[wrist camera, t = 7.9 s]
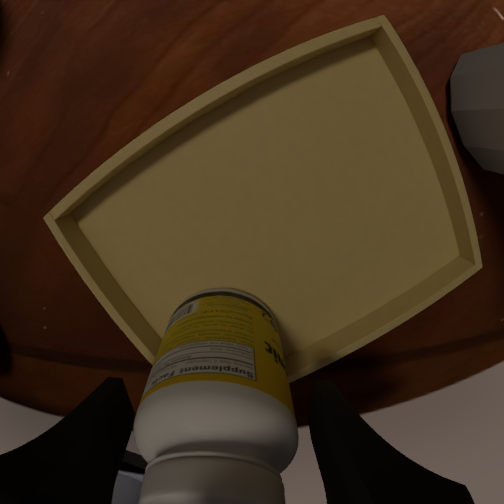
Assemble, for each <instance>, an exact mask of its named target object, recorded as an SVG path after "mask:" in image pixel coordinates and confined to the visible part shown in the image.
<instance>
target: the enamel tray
mask: <svg viewBox="0 0 504 504" xmlns="http://www.w3.org/2000/svg"><path fill="white" fill-rule="evenodd" d="M44 220H45V222H46V223H47V225H48V227H49V228H50V230H51V232H52V233H53V235H54V237H55V238H56V240H57V241H58V243H59V245H60V246H61V248H62V249H63V251H64V252H65V254H66V255H67V257H68V258H69V260H70V261H71V263H72V264H73V266H74V267H75V269H76V270H77V272H78V273H79V275H80V276H81V277H82V279H83V280H84V282H85V283H86V284H87V286H88V287H89V289H90V290H91V291H92V293H93V294H94V295H95V297H96V298H97V299H98V301H99V302H100V303H101V305H102V306H103V307H104V308H105V310H106V311H107V312H108V314H109V315H110V316H111V317H112V319H113V320H114V321H115V322H116V324H117V325H118V326H119V327H120V329H121V330H122V331H123V332H124V333H125V335H126V336H127V337H128V338H129V339H130V340H131V342H132V343H133V344H134V345H135V346H136V347H137V349H138V350H139V351H140V352H141V353H142V354H143V355H144V356H145V358H146V359H147V360H148V361H149V362H150V363H151V364H152V365H153V364H154V361H155V358H156V355H157V353H158V350H159V347H160V344H161V341H162V339H163V336H164V333H165V330H166V328H167V325H168V323H169V320H170V318H171V316H172V314H173V312H174V311H175V309H176V308H177V307H178V305H179V304H180V303H181V302H182V301H183V300H185V299H186V298H187V297H189V296H191V295H192V294H194V293H197V292H199V291H202V290H206V289H211V288H230V289H235V290H239V291H242V292H245V293H247V294H250V295H252V296H253V297H255V298H257V299H258V300H259V301H261V302H262V303H263V304H264V305H265V306H266V307H267V308H268V310H269V311H270V312H271V314H272V316H273V317H274V320H275V322H276V325H277V328H278V332H279V337H280V342H281V347H282V352H283V357H284V361H285V366H286V371H287V375H288V381H289V383H290V382H292V381H295V380H297V379H299V378H301V377H303V376H305V375H308V374H310V373H312V372H314V371H316V370H318V369H320V368H322V367H324V366H326V365H328V364H330V363H332V362H334V361H336V360H338V359H340V358H342V357H344V356H346V355H347V354H349V353H351V352H353V351H355V350H357V349H359V348H360V347H362V346H364V345H366V344H368V343H369V342H371V341H373V340H375V339H376V338H378V337H380V336H382V335H383V334H385V333H387V332H388V331H390V330H392V329H393V328H395V327H397V326H398V325H400V324H402V323H403V322H405V321H406V320H408V319H410V318H411V317H413V316H414V315H416V314H417V313H419V312H421V311H422V310H424V309H425V308H427V307H428V306H430V305H431V304H433V303H434V302H436V301H437V300H438V299H440V298H441V297H443V296H444V295H446V294H447V293H448V292H450V291H451V290H453V289H454V288H455V287H457V286H458V285H460V284H461V283H462V282H464V281H465V280H466V279H468V278H469V277H470V276H472V275H473V274H474V273H476V271H478V270H480V269H481V268H482V261H481V255H480V250H479V244H478V239H477V234H476V229H475V225H474V220H473V216H472V212H471V208H470V204H469V200H468V197H467V193H466V189H465V186H464V183H463V179H462V176H461V173H460V170H459V167H458V164H457V161H456V158H455V155H454V152H453V149H452V146H451V144H450V141H449V138H448V136H447V133H446V131H445V128H444V126H443V123H442V121H441V118H440V116H439V114H438V111H437V109H436V107H435V105H434V102H433V100H432V98H431V96H430V94H429V92H428V90H427V88H426V85H425V83H424V81H423V79H422V78H421V76H420V74H419V72H418V70H417V68H416V66H415V64H414V62H413V61H412V59H411V57H410V55H409V53H408V52H407V50H406V48H405V47H404V45H403V43H402V42H401V40H400V38H399V37H398V35H397V33H396V32H395V30H394V29H393V27H392V26H391V24H390V23H389V21H388V20H387V18H386V17H385V15H382V16H378V17H376V18H372V19H368V20H365V21H362V22H359V23H356V24H353V25H350V26H347V27H344V28H341V29H338V30H335V31H333V32H330V33H327V34H325V35H322V36H319V37H317V38H314V39H312V40H309V41H307V42H305V43H302V44H300V45H297V46H295V47H293V48H290V49H288V50H286V51H284V52H282V53H279V54H277V55H275V56H273V57H271V58H269V59H267V60H264V61H262V62H260V63H258V64H256V65H254V66H252V67H250V68H248V69H246V70H245V71H243V72H241V73H239V74H237V75H235V76H233V77H231V78H230V79H228V80H226V81H224V82H222V83H221V84H219V85H217V86H215V87H214V88H212V89H210V90H208V91H207V92H205V93H203V94H202V95H200V96H198V97H197V98H195V99H193V100H192V101H190V102H189V103H187V104H185V105H184V106H182V107H181V108H179V109H177V110H176V111H174V112H173V113H171V114H170V115H168V116H167V117H165V118H164V119H162V120H161V121H159V122H158V123H157V124H155V125H154V126H152V127H151V128H149V129H148V130H147V131H145V132H144V133H142V134H141V135H140V136H138V137H137V138H135V139H134V140H133V141H131V142H130V143H129V144H127V145H126V146H125V147H123V148H122V149H121V150H120V151H118V152H117V153H116V154H114V155H113V156H112V157H111V158H109V159H108V160H107V161H106V162H104V163H103V164H102V165H101V166H100V167H98V168H97V169H96V170H95V171H94V172H92V173H91V174H90V175H89V176H88V177H87V178H85V179H84V180H83V181H82V182H81V183H80V184H79V185H77V186H76V187H75V188H74V189H73V190H72V191H71V192H70V193H69V194H67V195H66V196H65V197H64V198H63V199H62V200H61V201H60V202H59V203H58V204H57V205H56V206H55V207H54V208H53V209H52V210H51V211H50V212H49V213H48V214H47V215H46V216H44Z"/></svg>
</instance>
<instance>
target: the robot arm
mask: <svg viewBox="0 0 504 504" xmlns="http://www.w3.org/2000/svg"><path fill="white" fill-rule="evenodd" d="M134 414H135V412H134V410H133V407H132V405H131V402H130V399H129V396H128V394H127V391H126V388H125V385H124V382H123V379H122V378H113V377H108V378H107V379H106V380H105V381H104V382H103V383H101V384H100V385H99V386H98V387H97V388H96V389H95V390H94V391H93V392H92V393H91V394H90V395H89V396H88V397H87V398H86V399H85V400H84V401H82V402H81V403H80V404H79V405H78V406H77V407H76V408H75V409H74V410H73V411H71V412H70V413H69V414H68V415H67V416H65V417H64V418H63V419H62V420H61V421H59V422H58V423H57V424H56V425H55V426H53V427H52V428H50V429H49V430H47V431H46V432H44V433H43V434H41V435H40V436H38V437H37V438H35V439H33V440H31V441H29V442H28V443H26V444H24V445H22V446H20V447H18V448H16V449H14V450H12V451H9V452H7V453H4V454H2V455H0V504H138V502H139V497H140V491H141V487H142V482H143V476H144V473H138V472H132V471H127V470H122V469H119V468H120V465H121V462H122V459H123V456H124V453H125V450H126V447H127V444H128V441H129V438H130V435H131V430H132V425H133V420H134ZM308 420H309V428H310V434H311V440H312V444H313V447H314V451H315V454H316V458H317V462H318V465H319V469H320V472H321V476H322V480H323V483H324V488H325V492H326V498H327V504H474V501H473V499H472V497H471V495H470V492H469V491H468V489H467V488H466V486H465V485H463V484H460V483H457V482H455V481H452V480H449V479H447V478H444V477H442V476H440V475H438V474H435V473H433V472H431V471H429V470H427V469H425V468H424V467H422V466H420V465H419V464H417V463H416V462H414V461H412V460H410V459H409V458H407V457H406V456H405V455H403V454H402V453H400V452H399V451H398V450H396V449H395V448H394V447H393V446H391V445H390V444H389V443H388V442H386V441H385V440H384V439H383V438H382V437H381V436H379V435H378V434H377V433H376V432H375V431H374V430H373V429H372V428H371V427H370V426H369V425H368V424H367V423H366V422H365V421H364V420H363V419H362V418H361V416H360V415H359V414H358V413H357V412H356V411H355V410H354V409H353V407H352V406H351V405H350V404H349V403H348V401H347V400H346V399H345V398H344V396H343V395H342V394H341V393H340V391H339V390H338V389H337V387H336V386H335V385H334V383H333V382H332V381H331V380H320V381H314V383H313V389H312V395H311V401H310V407H309V412H308Z"/></svg>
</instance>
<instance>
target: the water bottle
mask: <svg viewBox="0 0 504 504" xmlns="http://www.w3.org/2000/svg"><path fill="white" fill-rule="evenodd" d="M450 108H451V114H452V116H453V119H454V122H455V125H456V127H457V130H458V133H459V136H460V139H461V142H462V144H463V145H464V147H465V148H466V149H467V150H468V151H469V153H470V154H471V155H472V156H473V157H474V159H475V160H476V161H477V162H478V163H479V165H480V166H481V167H482V168H483V169H485V170H488V171H492V172H496V173H499V174H503V175H504V43H501V44H497V45H493V46H490V47H486V48H482V49H479V50H475V51H472V52H468V53H465V54H462V55H461V56H460V59H459V61H458V63H457V65H456V67H455V69H454V71H453V73H452V75H451V77H450Z"/></svg>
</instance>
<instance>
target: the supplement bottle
mask: <svg viewBox="0 0 504 504" xmlns="http://www.w3.org/2000/svg"><path fill="white" fill-rule="evenodd" d="M133 433H134V439H135V443H136V445H137V448H138V450H139V452H140V453H141V455H142V456H143V458H144V459H145V460H146V461H147V463H148V465H147V467H146V470H145V474H144V476H143V482H142V487H141V491H140V497H139V502H138V504H285V495H284V485H283V483H282V478H281V476H280V473H281V472H282V471H284V470H285V469H286V468H287V466H288V465H289V464H290V463H291V461H292V460H293V458H294V456H295V454H296V451H297V447H298V430H297V422H296V417H295V412H294V407H293V402H292V397H291V392H290V386H289V381H288V375H287V371H286V366H285V361H284V357H283V352H282V347H281V342H280V337H279V332H278V328H277V325H276V322H275V320H274V317H273V316H272V314H271V312H270V311H269V310H268V308H267V307H266V306H265V305H264V304H263V303H262V302H261V301H259V300H258V299H257V298H255V297H253V296H252V295H250V294H247V293H245V292H242V291H239V290H235V289H230V288H211V289H206V290H202V291H199V292H197V293H194V294H192V295H191V296H189V297H187V298H186V299H185V300H183V301H182V302H181V303H180V304H179V305H178V307H177V308H176V309H175V311H174V312H173V314H172V316H171V318H170V320H169V323H168V325H167V328H166V330H165V333H164V336H163V339H162V341H161V344H160V347H159V350H158V353H157V355H156V358H155V361H154V364H153V367H152V369H151V372H150V375H149V378H148V381H147V384H146V387H145V390H144V393H143V396H142V398H141V401H140V404H139V407H138V410H137V414H136V418H135V421H134V429H133Z"/></svg>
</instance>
